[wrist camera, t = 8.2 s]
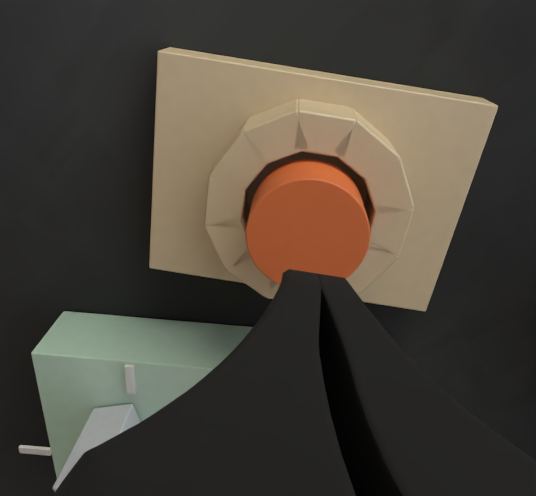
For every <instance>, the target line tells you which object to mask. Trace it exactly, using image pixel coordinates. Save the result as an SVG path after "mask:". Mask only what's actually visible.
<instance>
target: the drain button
mask: <svg viewBox="0 0 536 496" xmlns="http://www.w3.org/2000/svg"><path fill="white" fill-rule="evenodd" d="M369 243H370V224H369V220H368V217H367V214H366V210H365V207H364V204H363V201H362V198H361V195H360V192H359V190H358V188H357V186H356V184H355V183H354V181H353V180H352V179H351V178H350V176H348V175H347V174H346V173H345V172H344V171H343V170H341V169H340V168H339V167H337V166H335V165H333V164H331V163H328V162H325V161H321V160H315V159H300V160H294V161H291V162H287V163H285V164H283V165H281V166H279V167H277V168H276V169H274V170H273V171H271V172H270V173H269V174H268V175H267V176H266V177H265V178H264V179H263V180H262V182H261V183H260V184H259V186H258V188H257V190H256V192H255V194H254V197H253V201H252V205H251V209H250V213H249V217H248V221H247V226H246V244H247V248H248V251H249V254H250V256H251V258H252V260H253V262H254V263H255V265H256V266H257V268H258V269H259V270H260V271H261V272H262V273H263V274H264V275H265V276H266V277H268V278H269V279H270V280H272V281H274V282H275V283H277V284H279V285H280V284H281V280H282V274H283V272H285V271H287V270H288V269H292V270H298V271H305V272H311V273H318V274H324V275H330V276H337V277H343V278H345V279H346V278H348V277H349V276H350V275H351V274H352V273H353V272H354V271H355V270H356V269H357V268H358V267H359V265H360V264H361V263H362V261H363V259H364V257H365V255H366V253H367V250H368V247H369Z"/></svg>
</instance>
